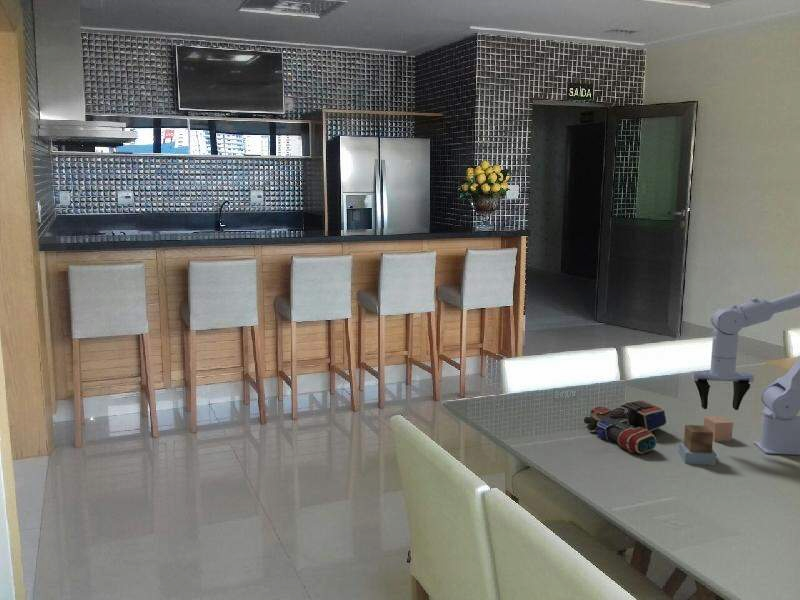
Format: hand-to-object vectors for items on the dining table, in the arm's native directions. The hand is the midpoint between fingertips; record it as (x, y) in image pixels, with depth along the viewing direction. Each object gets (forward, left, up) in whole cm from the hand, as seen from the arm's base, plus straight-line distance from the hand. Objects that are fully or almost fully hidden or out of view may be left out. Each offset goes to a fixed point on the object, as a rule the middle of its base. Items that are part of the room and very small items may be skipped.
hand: (719, 408), depth 181 cm
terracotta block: (-2, -6, -10) cm, 12 cm away
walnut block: (+8, +10, -7) cm, 15 cm away
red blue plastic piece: (+20, -5, -10) cm, 23 cm away
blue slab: (+8, +10, -10) cm, 16 cm away
